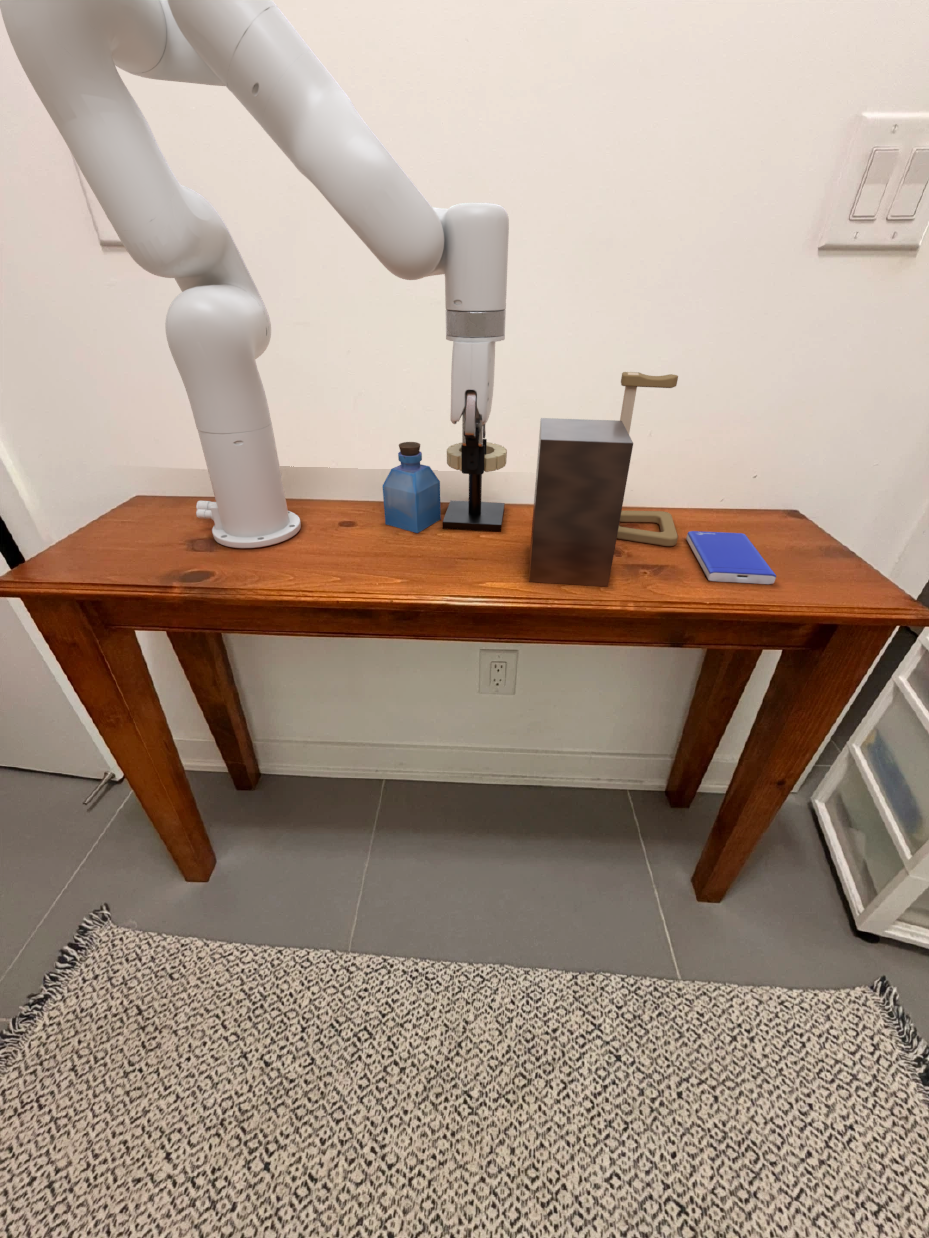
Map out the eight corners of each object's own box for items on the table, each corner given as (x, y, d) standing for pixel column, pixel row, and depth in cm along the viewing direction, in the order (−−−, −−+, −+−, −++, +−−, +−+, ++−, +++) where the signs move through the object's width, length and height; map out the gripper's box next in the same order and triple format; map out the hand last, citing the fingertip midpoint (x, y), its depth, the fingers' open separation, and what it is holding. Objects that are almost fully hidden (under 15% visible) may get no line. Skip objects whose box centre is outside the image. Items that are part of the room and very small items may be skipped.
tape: (441, 470, 78) (440, 456, 77) (454, 452, 86) (454, 439, 85) (501, 474, 77) (502, 460, 76) (509, 456, 84) (510, 443, 83)
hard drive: (687, 530, 79) (710, 570, 69) (745, 533, 79) (777, 574, 68) (685, 540, 80) (707, 581, 70) (742, 543, 80) (773, 585, 69)
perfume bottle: (440, 519, 86) (439, 443, 80) (417, 533, 82) (413, 453, 75) (409, 511, 89) (405, 436, 82) (385, 524, 85) (379, 446, 78)
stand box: (528, 582, 70) (540, 439, 60) (530, 548, 78) (540, 417, 68) (608, 587, 69) (633, 443, 59) (601, 551, 77) (622, 420, 67)
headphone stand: (677, 547, 78) (717, 384, 66) (599, 541, 80) (624, 380, 68) (669, 519, 87) (703, 370, 75) (599, 514, 88) (621, 367, 76)
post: (442, 529, 83) (441, 470, 78) (450, 507, 91) (450, 451, 86) (501, 532, 82) (503, 472, 77) (504, 509, 90) (507, 454, 85)
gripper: (454, 320, 75) (455, 453, 86) (435, 333, 62) (439, 488, 72) (508, 321, 75) (503, 454, 85) (501, 334, 61) (496, 490, 72)
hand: (474, 469), depth 79 cm, fingers closed on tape, 2 cm apart
